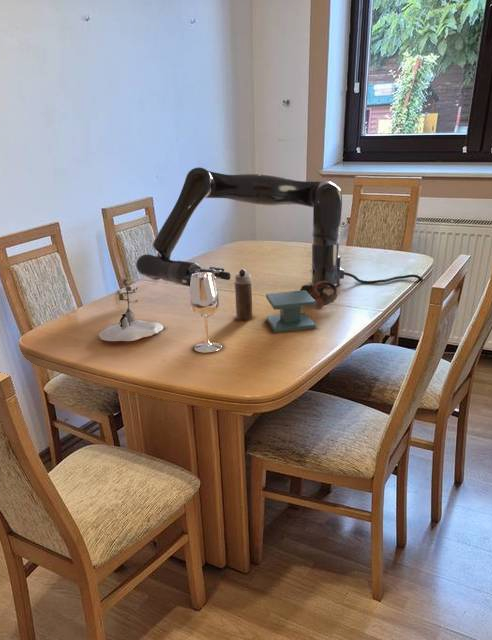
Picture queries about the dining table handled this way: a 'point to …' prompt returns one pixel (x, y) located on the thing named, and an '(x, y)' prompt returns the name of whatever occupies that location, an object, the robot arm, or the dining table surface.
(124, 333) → the figurine
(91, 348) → the dining table surface
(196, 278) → the wineglass
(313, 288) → the brown clay hollow piece
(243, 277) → the pepper mill
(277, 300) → the stand
